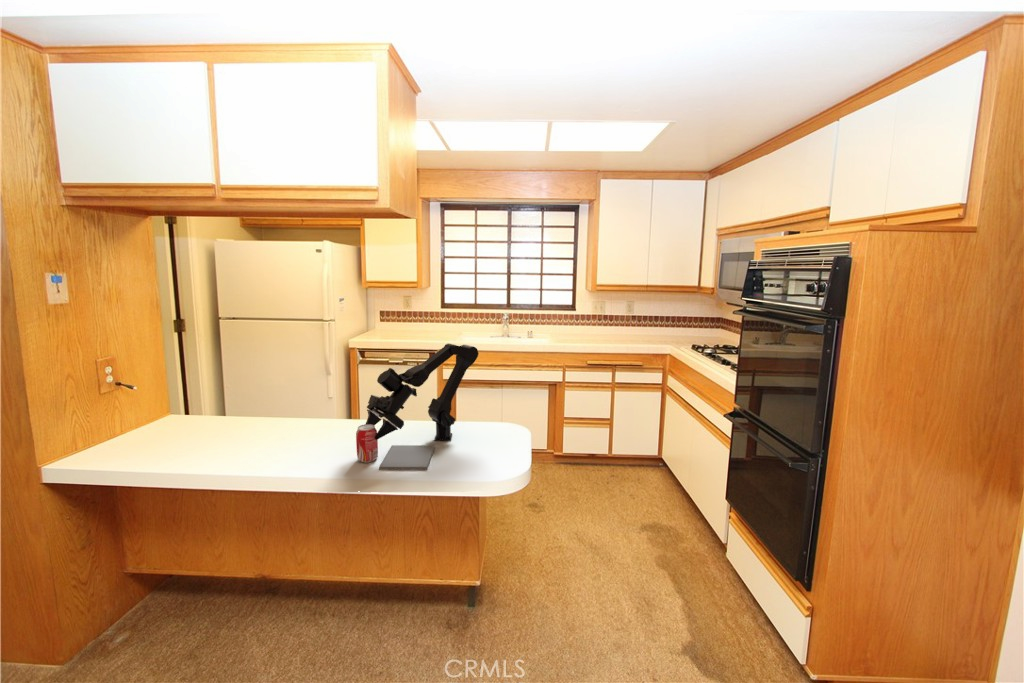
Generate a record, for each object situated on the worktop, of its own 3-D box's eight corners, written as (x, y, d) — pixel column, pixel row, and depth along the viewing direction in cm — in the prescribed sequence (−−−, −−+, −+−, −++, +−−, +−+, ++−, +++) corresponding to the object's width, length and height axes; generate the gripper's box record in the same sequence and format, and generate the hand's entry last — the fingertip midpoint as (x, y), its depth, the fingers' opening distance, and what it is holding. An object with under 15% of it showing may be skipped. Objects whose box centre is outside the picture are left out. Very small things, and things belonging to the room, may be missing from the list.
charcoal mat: (391, 447, 168) (391, 445, 168) (434, 447, 169) (434, 445, 168) (379, 469, 150) (378, 466, 150) (427, 469, 151) (427, 466, 151)
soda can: (360, 455, 161) (358, 423, 159) (380, 455, 162) (378, 423, 160) (354, 464, 154) (353, 430, 152) (375, 463, 155) (374, 430, 153)
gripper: (370, 381, 165) (342, 416, 159) (394, 392, 151) (364, 431, 146) (391, 397, 171) (364, 432, 166) (416, 410, 158) (387, 447, 152)
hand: (369, 435), depth 157 cm, fingers open, 9 cm apart
